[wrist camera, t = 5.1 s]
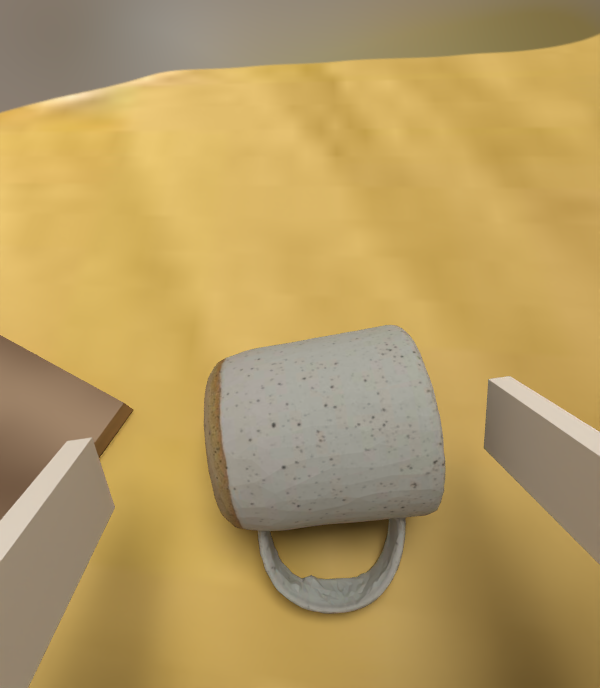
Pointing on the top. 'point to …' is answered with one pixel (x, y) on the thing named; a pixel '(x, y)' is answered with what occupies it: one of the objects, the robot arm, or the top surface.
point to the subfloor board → (45, 417)
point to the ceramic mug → (325, 448)
